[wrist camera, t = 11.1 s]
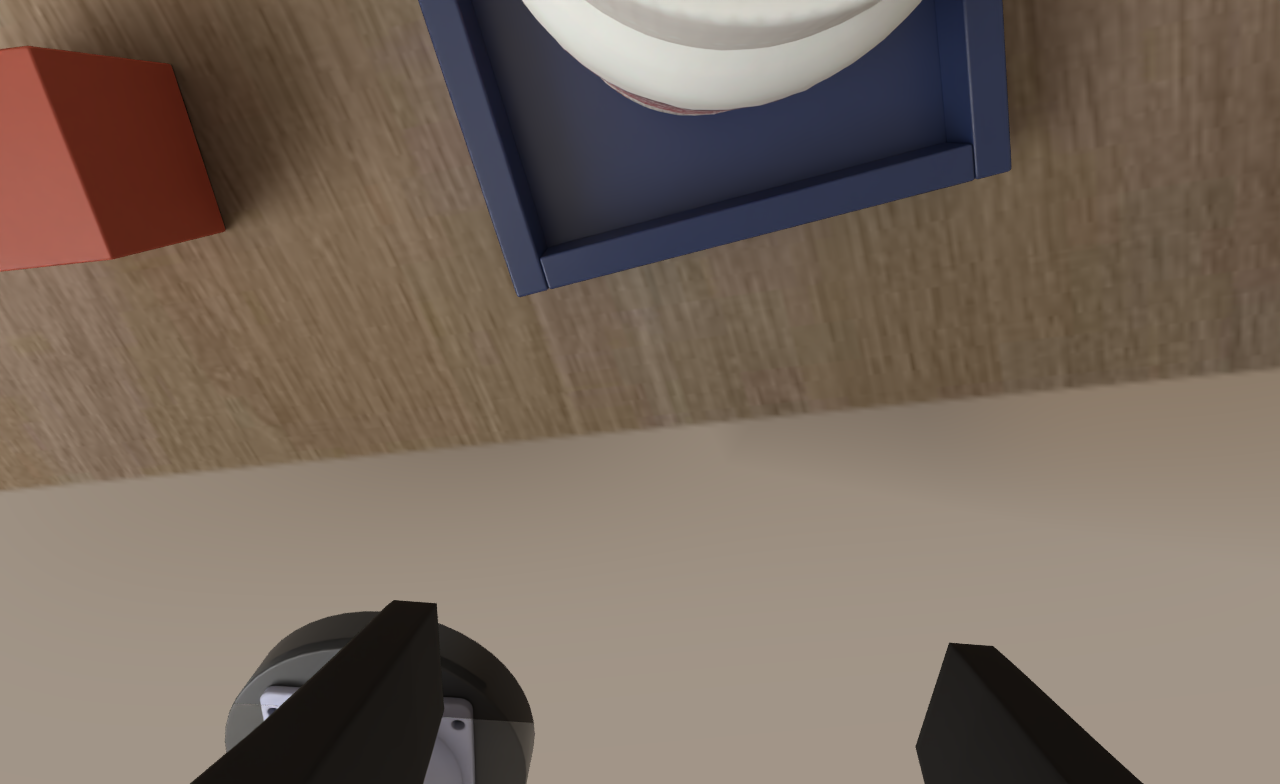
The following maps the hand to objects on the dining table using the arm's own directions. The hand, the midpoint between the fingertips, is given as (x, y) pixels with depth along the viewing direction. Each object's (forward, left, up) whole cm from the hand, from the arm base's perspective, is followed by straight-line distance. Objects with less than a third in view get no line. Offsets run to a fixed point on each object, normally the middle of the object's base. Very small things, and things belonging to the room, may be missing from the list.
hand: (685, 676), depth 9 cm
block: (+5, +14, -10) cm, 19 cm away
